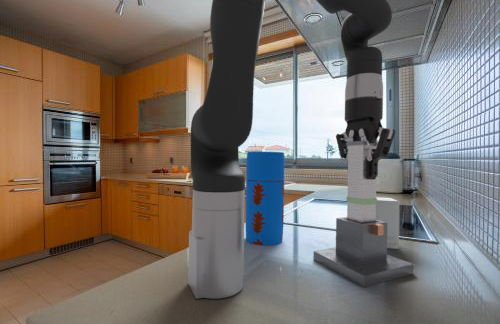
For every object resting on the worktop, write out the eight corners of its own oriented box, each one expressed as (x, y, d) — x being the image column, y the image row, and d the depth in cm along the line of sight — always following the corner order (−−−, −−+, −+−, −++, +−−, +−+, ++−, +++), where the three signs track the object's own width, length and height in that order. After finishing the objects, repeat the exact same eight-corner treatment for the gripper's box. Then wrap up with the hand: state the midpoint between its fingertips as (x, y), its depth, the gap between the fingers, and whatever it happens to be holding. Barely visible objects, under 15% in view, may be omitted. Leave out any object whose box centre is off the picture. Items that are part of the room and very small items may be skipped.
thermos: (239, 242, 71) (240, 151, 71) (252, 232, 81) (254, 153, 81) (277, 247, 67) (279, 151, 67) (286, 236, 77) (288, 153, 77)
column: (362, 232, 53) (363, 140, 53) (344, 227, 57) (346, 142, 57) (377, 230, 55) (379, 141, 55) (359, 225, 59) (361, 143, 59)
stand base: (364, 287, 46) (365, 231, 46) (313, 259, 59) (314, 216, 59) (413, 273, 52) (413, 224, 52) (357, 251, 65) (358, 211, 65)
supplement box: (399, 249, 67) (400, 201, 67) (369, 247, 69) (370, 199, 69) (390, 241, 74) (391, 197, 74) (363, 239, 76) (363, 196, 76)
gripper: (326, 103, 60) (325, 176, 60) (380, 88, 48) (379, 181, 48) (350, 107, 64) (349, 176, 64) (406, 93, 51) (405, 180, 51)
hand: (361, 178), depth 56 cm, fingers closed on column, 4 cm apart
